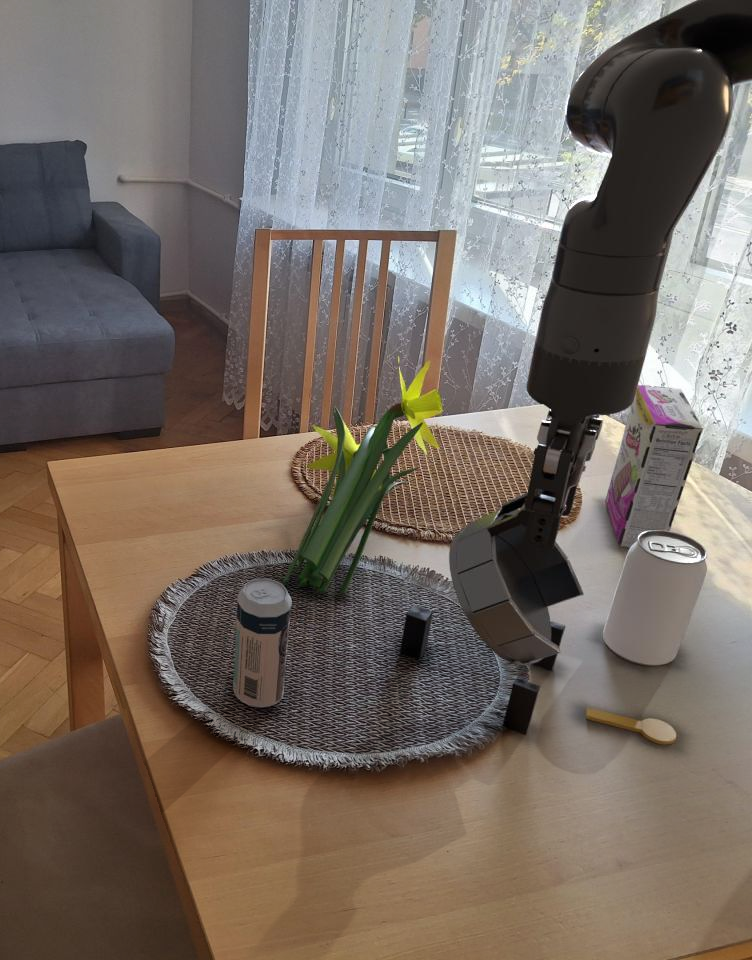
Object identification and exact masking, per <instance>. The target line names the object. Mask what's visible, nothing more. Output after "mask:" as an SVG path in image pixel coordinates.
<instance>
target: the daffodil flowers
mask: <svg viewBox="0 0 752 960" xmlns="http://www.w3.org/2000/svg"><path fill="white" fill-rule="evenodd" d="M397 360H398V362H400V356H399V355H397ZM430 365H431V359H429V360H428V361H427V362H426V363H425V364H424V365H423V367H422V368H421V369H420V370H419V371H418V373H417V375H415V377H414V379H413V380H412V382H411V384H410V385H409V387H408V389H407V386H406V383H405V380H404V378H403V375H402V372H401V368H400V367H398V371H399V382H400V388H401V401H400V402H399V401H398V402H397V403H395V404H393V405H391V406H390V407H389V408H388V409H387V410H386V412H385V413H383V415H382V416H381V418H380V419H379V420H378V423H377V424H376V426H375V427H374V426H372V427H369V429H368V430H367V431H366V433H365V435H364V436H363V438H362V440H361V442H360V443H358V444H357V443H356V441H355V439H354V436H353V435H352V433H351V431H350V430H349V427H348V426H347V425H346V423H345V421H344V420H343V418H342V415H341V413H340V411H339V410H338V408H337V407H336V406H334V407H333V409H332V411H333V418H334V423H335V431H336V435H335V434H333V433H331V432H329V431H327V430H326V429H324V428H322V427H319V426H317V425H314V424H311V427H312V428H313V429H314V431H315V432H316V433H317V434H318V435H320V436H321V438H323V440H324V441H325V442H326V444H327V445H328V446H329V447H330V448H331V449H332V450H333V451H334V452H332V453H329V454H327V455H324V456H322V457H320V458H318V459H316V460H314V461H312V462H310V463H309V464H307V465H306V467H307V468H308V469H311V470H320V471H327V472H329V471H330V472H331V474H330V476H329V479H328V481H326V485H325V487H324V489H323V492H322V494H321V496H320V498H319V500H318V503H317V505H316V507H315V509H314V511H313V514H312V517H311V518H310V521H309V523H308V525H307V527H306V530H305V532H304V534H303V537H302V539H301V542H300V544H299V545H298V548H297V550H296V553H295V554H294V557H293V559H292V561H291V562H290V565H289V567H288V570H287V571H286V573H285V575H284V577H283V579H282V582H281V583H282V585H283V586H284V587H285V586H286V585H287V584H288V582H289V580H290V578H291V576H292V574H293V572H294V573H298V572H299V571H300V569H301V568H302V566H303V568H302V570H301V573H300V574H299V576H298V578H297V582H298V587H308V586H309V585H310V586H312V587H314V588H317V590H316V591H315V594H316V595H323V594H325V593H326V591H327V589H328V588H329V585H330V583H331V582H332V580H333V578H334V577H335V574H336V572H337V570H338V569H339V566H340V565H341V563H342V561H343V559H344V557H345V555H346V554H347V552H348V551H349V549H350V548H351V546H352V544H353V542H354V540H355V539H356V537H357V535H358V534H359V532H360V531H361V529H362V528H363V526H364V525H365V523H366V525H365V528H364V529H363V532H362V535H361V538H360V540H359V543H358V545H357V548H356V551H355V553H354V556H353V558H352V561H351V564H350V566H349V568H348V571H347V573H346V574H345V575H346V576H345V578H344V580H343V581H342V585H341V587H340V589H339V591H338V594H337V597H338V598H339V597H344V596H345V595H346V594H347V592H348V589H349V586H350V584H351V582H352V580H353V576H354V574H355V572H356V570H357V567H358V566H359V563H360V560H361V557H362V556H363V555H362V554H363V552H364V549H365V547H366V544H367V542H368V540H369V536H370V534H371V531H372V528H373V526H374V523H375V521H376V518H377V515H378V513H379V511H380V508H381V505H382V503H383V500H384V498H385V496H386V495H387V494H388V493H389V491H390V490H392V489H393V488H395V487H396V486H400V485H404V484H405V485H406V484H409V481H397V480H399V479H401V478H402V477H405V476H406V475H408V474H410V473H413V472H415V471H416V470H419V468H418V467H416V468H410V469H405V470H402V471H399V472H397V473H396V474H394V475H392V476H391V470H392V469H393V466H394V465H395V464H396V462H397V460H398V459H399V457H400V456H401V454H402V453H403V452H404V451H405V449H406V448H407V446H408V445H409V444H410V442H411V441H412V439H413V438H414V439H415V441H416V444H417V446H419V447H420V449H421V450H422V451H423V452H424V453H425V455H426V456H427V457H428V451H427V449H426V445H425V442H426V443H427V444H428V445H429V446H432V447H433V448H436V449H437V450H440V446H439V443H438V442H437V440H436V438H435V436H434V435H433V432H432V431H431V429H430V427H429V426H428V424H427V422H426V420H425V419H430V418H433V417H434V416H437V415H439V414H441V413H443V412H444V409H443V408H444V406H443V404H444V403H443V402H442V400H443V398H441V394H439V393H440V390H439V391H438V388H434V389H433V390H430V391H429V392H427V393H425V394H422V395H421V393H422V389H423V385H424V381H425V377H426V374H427V372H428V370H429V368H430ZM404 416H405V417H406V418H407V421H408V423H409V425H410V427H411V429H410V430H409V431H407V432H406V433H405V434H404V435H403V436H402V437H400V438H399V439H398V440H397V441H396V443H394V444H393V446H391V447H388V444H387V443H388V439H389V436H390V433H391V430H392V427H393V424H394V420H395V419H399V418H402V417H404ZM424 441H425V442H424ZM382 455H383V460H382V461H381V463H380V464H379V462H380V460H381V457H382ZM378 464H379V466H378ZM377 466H378V467H377ZM376 468H377V469H376ZM396 481H397V482H396ZM334 483H335V484H334ZM333 486H334V487H333ZM332 490H333V491H332ZM331 493H332V496H331ZM330 497H331V500H330V503H328V501H329V499H330ZM326 507H327V508H326ZM305 561H306V562H305ZM304 562H305V564H304ZM303 564H304V565H303Z"/></svg>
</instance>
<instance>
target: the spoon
mask: <svg viewBox="0 0 752 960" xmlns="http://www.w3.org/2000/svg"><path fill="white" fill-rule="evenodd" d="M585 715H586V716H585V719H586V720H588V721H593V722H595V723H596V722H597V723H599V724H605V725H609V726H612V727H616V728H619V729H624V730H626V731H627V730H628V731H631V732H635V733H639V734H641V735H642V736H643V737H644V738H646V740H648V741H650V742H653V743H654V744H659V745H671V744H674V743H675V741H676V739H677V736H678V735H677V732H676V730H675V729H674V727H673V726H672V725H670V724H669V723H667V722H666V721H664V720H661V719H659V718H653V717H650V718H649V717H648V718H644V719H642V720H639V719H635V718H631V717H627V716H623V715H619V714H615V713H611V712H608V711H603V710H600V709H595V708H591V707H586V711H585Z"/></svg>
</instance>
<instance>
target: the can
mask: <svg viewBox="0 0 752 960" xmlns="http://www.w3.org/2000/svg"><path fill="white" fill-rule="evenodd" d="M707 557H708V552H707V549H706V548H705V547H704V546H703V545H702V544H701V542H699V541H697V540H695V539H694V538H692V537H689V536H687V535H684V534H682V533H678V532H673V531H671V530H670V531H663V530H651V531H646V532H643V533H641V534H640V535H639V536H638V538H637V542H635V543H634V544H633V545H632V546H631V547H630V549H628V551H627V554H626V557H625V559H624V563H623V565H622V569H621V573H620V575H619V580H618V582H617V585H616V589H615V592H614V595H613V598H612V602H611V604H610V608H609V611H608V614H607V617H606V621H605V624H604V628H603V632H602V638H603V641H604V643H605V644H606V646H607V648H608V649H609V650H610V651H611V652H612V653H614V654H615V655H617V656H618V657H619V658H622V659H624V660H625V661H627V662H631V663H633V664H637V665H640V666H647V667H657V666H663V665H666V664H669V663H671V662H672V661H674V660H675V659H676V658H677V654H678V652H679V650H680V648H681V645H682V642H683V639H684V636H685V634H686V631H687V628H688V625H689V623H690V621H691V618H692V615H693V612H694V609H695V607H696V605H697V602H698V599H699V595H700V593H701V590H702V587H703V584H704V582H705V578H706V576H707V572H708V565H707V561H706V559H707Z"/></svg>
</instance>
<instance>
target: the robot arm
mask: <svg viewBox="0 0 752 960" xmlns="http://www.w3.org/2000/svg"><path fill="white" fill-rule="evenodd" d="M749 83H751V84H752V0H694V1H692V2H690V3H687V4H685V5H684V6H682V7H680V8H678V9H676V10H674V11H672V12H669V13H668V14H666V15H664V16H662V17H660V18H659V19H656V20H654V21H652V22H651V23H649V24H647V25H645V26H643V27H641V28H640V29H637V30H636V31H633V32H632V33H630V34H629V35H627V36H625V37H624V38H622V39H621V40H619V41H617V42H615V43H614V44H612V45H611V46H610V47H608V48H607V49H605V51H603V52H601V54H599V55H598V56H597V57H596V58H595V59H594V60H593V61H592V62H591V63H589V64H588V66H587V67H586V68H585V69H584V70H583V71H582V73H581V74H580V75H579V77H578V78H577V79H576V81H575V83H574V85H573V86H572V88H571V90H570V92H569V95H568V98H567V101H566V105H565V123H566V127H567V128H568V132H569V134H570V135H571V137H572V139H574V141H575V142H576V143H577V144H579V145H580V146H581V147H583V148H585V150H588V151H590V152H593V153H595V154H599V155H603V156H608V157H610V160H609V162H608V165H607V168H606V170H605V173H604V176H603V178H602V180H601V183H600V185H599V187H598V189H597V192H596V194H592V195H587V196H585V197H582V198H580V199H578V200H576V201H575V202H574V203H572V204H571V206H570V207H569V208H568V210H567V212H566V214H565V216H564V219H563V223H562V226H561V230H560V233H559V234H560V235H559V239H558V244H557V248H556V254H555V259H554V263H553V268H552V274H551V279H550V282H549V286H548V289H547V291H546V294H545V296H544V300H543V303H542V307H541V311H540V314H539V320H538V325H537V331H536V335H535V339H534V340H535V341H534V345H533V350H532V355H531V360H530V365H529V371H528V375H527V381H526V387H525V388H526V393H527V394H528V396H529V397H530V398H531V399H532V400H533V401H535V402H536V403H538V404H540V405H544V406H545V407H546V408H548V409H549V410H548V412H547V416H546V419H545V420H542V421H541V422H540V425H539V429H538V432H537V436H536V440H537V442H538V444H537V446H536V447H535V448H534V450H533V461H532V467H531V470H530V478H529V484H528V489H527V493H528V494H527V499H526V500H525V503H524V505H525V510H528V511H530V515H529V519H528V524H527V529H526V533H525V538H524V544H525V545H526V546H527V547H530V548H534V549H537V550H541V551H545V552H550V551H551V550H552V549H553V547H554V545H555V541H556V542H557V537H558V533H559V528H560V525H561V519H562V517H566V516H569V515H570V514H571V512H572V509H573V505H574V501H575V497H576V493H577V489H578V485H579V484H580V482H581V479H582V478H581V477H582V475H583V472H586V468H587V465H586V462H590V461H591V459H592V456H593V454H594V451H595V448H596V443H597V440H598V439H599V437H600V435H601V434H600V433H601V431H602V429H603V424H604V419H603V418H600V416H609V415H614V414H618V413H621V412H624V411H625V410H627V409H629V408H631V405H632V403H633V401H634V398H635V394H636V391H637V387H638V386H639V382H640V380H641V375H642V371H643V369H644V368H643V367H644V365H645V360H646V356H647V354H648V349H649V345H650V341H651V338H652V333H653V329H654V325H655V321H656V316H657V311H658V299H659V292H660V286H661V283H662V280H663V276H664V272H665V268H666V264H667V260H668V256H669V253H670V249H671V245H672V241H673V237H674V236H673V235H674V232H675V229H676V227H677V225H678V224H679V222H680V220H681V218H682V217H683V215H684V213H685V212H686V210H687V208H689V206H690V204H691V202H692V200H693V199H694V196H695V195H696V193H697V191H698V189H699V187H700V185H701V183H702V181H703V179H704V178H705V176H706V175H707V172H708V170H709V169H710V167H711V165H712V163H713V161H714V159H715V157H716V155H717V154H718V152H719V149H720V148H721V145H722V144H723V141H724V139H725V137H726V134H727V131H728V129H729V125H730V122H731V118H732V114H733V106H734V87H736V86H739V85H740V86H741V85H745V84H749ZM541 490H545V491H549V492H553V495H552V497H550V496H546V495H542V494H540V493H541Z"/></svg>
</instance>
